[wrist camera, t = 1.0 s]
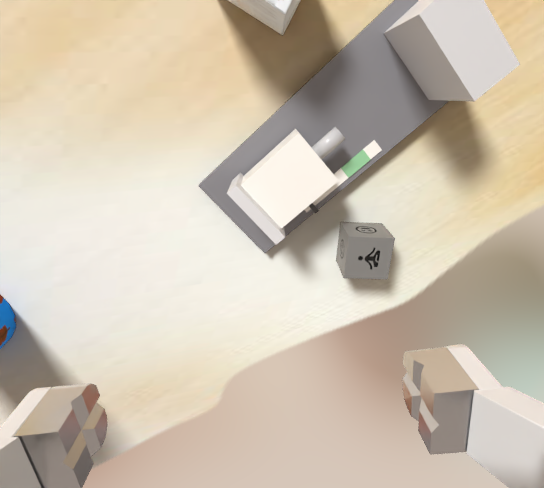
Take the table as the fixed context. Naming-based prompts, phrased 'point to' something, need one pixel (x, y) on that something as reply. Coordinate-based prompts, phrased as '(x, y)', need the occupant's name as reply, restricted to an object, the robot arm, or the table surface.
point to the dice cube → (364, 250)
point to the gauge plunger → (285, 182)
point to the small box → (270, 11)
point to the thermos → (6, 322)
